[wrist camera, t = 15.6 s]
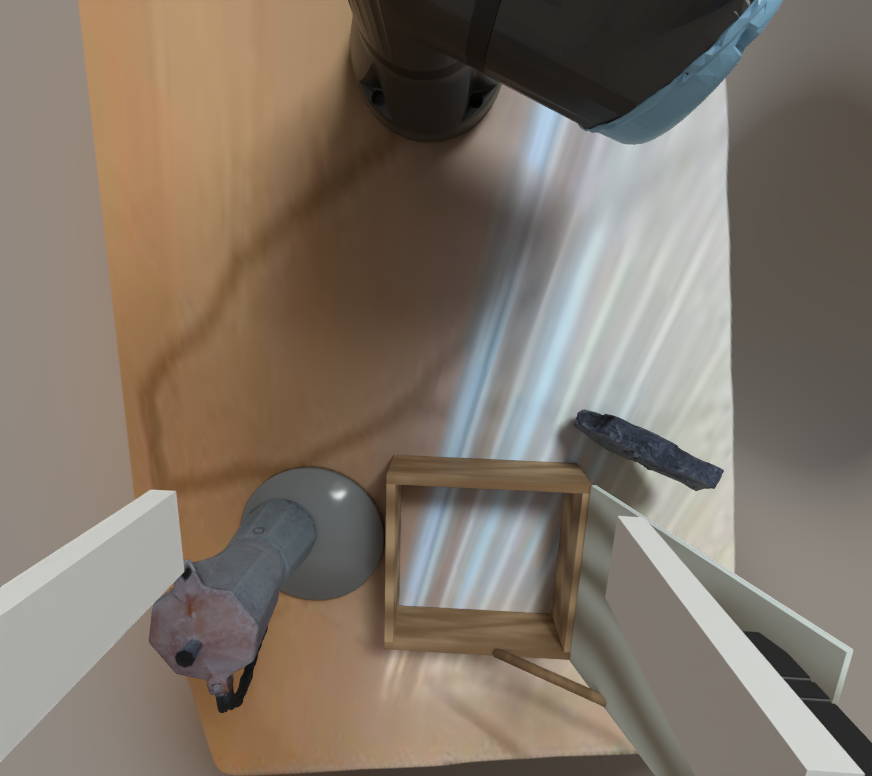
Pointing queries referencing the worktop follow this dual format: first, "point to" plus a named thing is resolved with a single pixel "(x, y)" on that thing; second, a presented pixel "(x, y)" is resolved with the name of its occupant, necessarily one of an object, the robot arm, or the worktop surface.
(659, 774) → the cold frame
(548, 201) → the worktop surface
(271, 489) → the disc
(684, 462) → the stone
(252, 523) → the moka pot
